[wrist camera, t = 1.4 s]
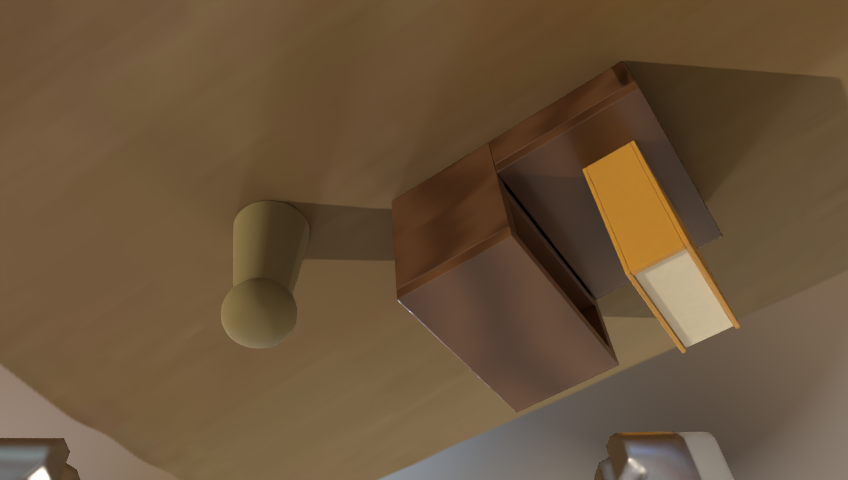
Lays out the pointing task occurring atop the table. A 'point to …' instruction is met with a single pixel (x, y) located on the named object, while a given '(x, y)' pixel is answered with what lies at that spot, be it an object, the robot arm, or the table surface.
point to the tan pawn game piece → (265, 273)
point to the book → (657, 248)
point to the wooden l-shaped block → (533, 241)
